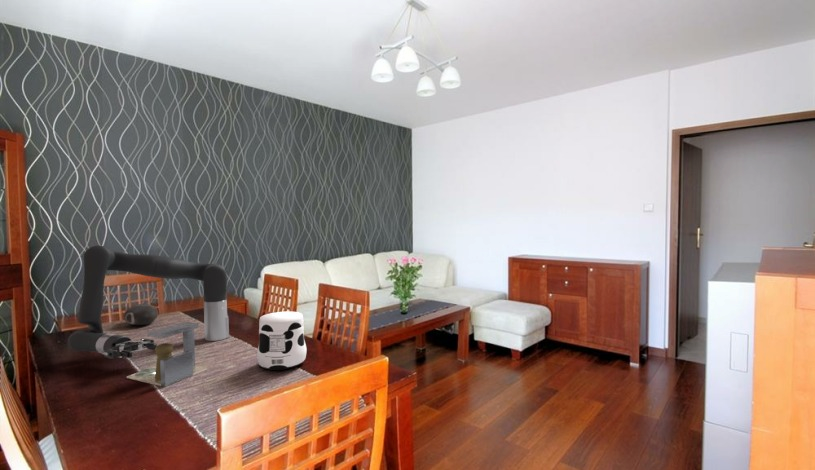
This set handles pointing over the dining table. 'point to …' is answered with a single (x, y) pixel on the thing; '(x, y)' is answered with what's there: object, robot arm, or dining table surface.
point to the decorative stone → (140, 314)
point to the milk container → (281, 340)
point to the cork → (162, 356)
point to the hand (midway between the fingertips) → (143, 350)
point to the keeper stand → (173, 357)
